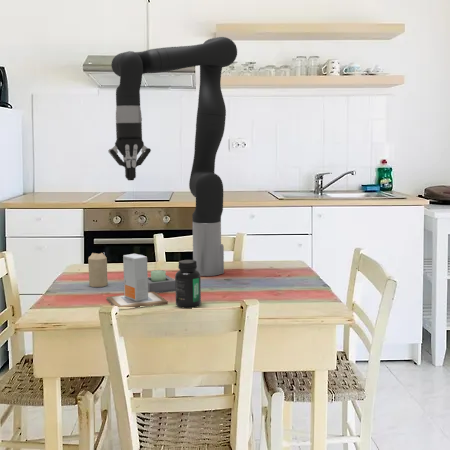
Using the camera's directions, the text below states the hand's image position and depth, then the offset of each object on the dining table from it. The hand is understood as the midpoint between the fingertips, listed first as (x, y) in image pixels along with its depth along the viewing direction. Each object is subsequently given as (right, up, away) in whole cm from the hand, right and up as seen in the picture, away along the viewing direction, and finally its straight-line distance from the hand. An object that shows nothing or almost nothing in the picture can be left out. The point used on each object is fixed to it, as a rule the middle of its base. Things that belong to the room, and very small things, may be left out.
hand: (130, 180), depth 200 cm
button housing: (+9, -33, -1) cm, 34 cm away
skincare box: (+4, -34, -15) cm, 37 cm away
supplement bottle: (+18, -35, -19) cm, 44 cm away
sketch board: (+4, -35, -15) cm, 38 cm away
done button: (+9, -32, -1) cm, 33 cm away
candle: (-10, -32, +5) cm, 34 cm away
